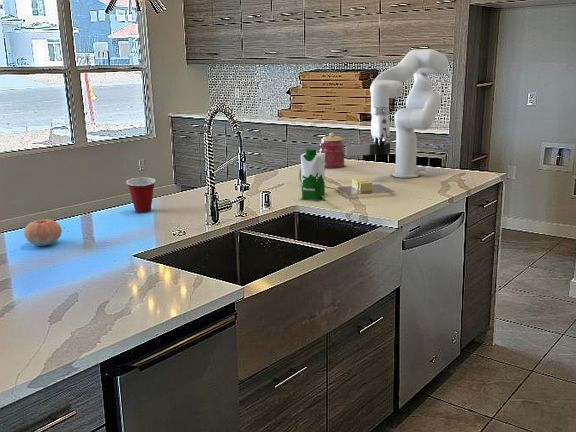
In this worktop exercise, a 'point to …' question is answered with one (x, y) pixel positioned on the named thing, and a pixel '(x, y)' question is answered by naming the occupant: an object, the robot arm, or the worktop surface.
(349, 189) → the cutting board
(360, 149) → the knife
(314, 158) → the milk carton
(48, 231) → the pumpkin
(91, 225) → the worktop surface
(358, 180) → the butter
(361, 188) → the butter slice
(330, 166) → the kitchen canister
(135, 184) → the plastic cup
